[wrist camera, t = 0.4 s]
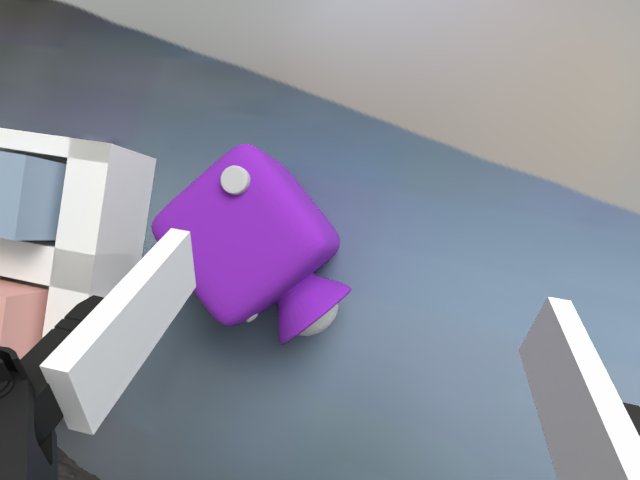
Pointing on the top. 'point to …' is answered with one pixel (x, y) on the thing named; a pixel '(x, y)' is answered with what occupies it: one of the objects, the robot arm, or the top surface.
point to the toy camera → (257, 244)
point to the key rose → (21, 316)
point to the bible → (71, 469)
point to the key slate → (29, 197)
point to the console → (82, 221)
